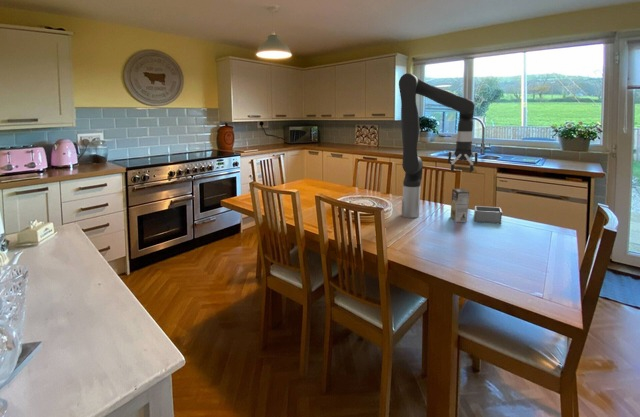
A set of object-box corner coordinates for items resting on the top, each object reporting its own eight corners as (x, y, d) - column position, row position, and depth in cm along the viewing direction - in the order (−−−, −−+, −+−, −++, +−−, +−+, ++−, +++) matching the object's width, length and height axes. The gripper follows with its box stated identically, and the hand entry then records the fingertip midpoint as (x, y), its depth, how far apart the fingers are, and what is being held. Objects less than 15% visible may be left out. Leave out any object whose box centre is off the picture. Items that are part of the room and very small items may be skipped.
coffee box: (449, 217, 210) (451, 188, 205) (461, 216, 210) (463, 188, 205) (455, 222, 201) (457, 192, 197) (467, 221, 201) (470, 192, 196)
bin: (474, 221, 201) (475, 210, 199) (473, 216, 210) (474, 205, 208) (500, 223, 196) (502, 212, 195) (499, 218, 206) (500, 207, 204)
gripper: (449, 140, 193) (446, 172, 198) (479, 141, 188) (476, 173, 193) (449, 139, 200) (447, 170, 204) (479, 139, 195) (476, 171, 200)
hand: (461, 171), depth 199 cm, fingers open, 8 cm apart
